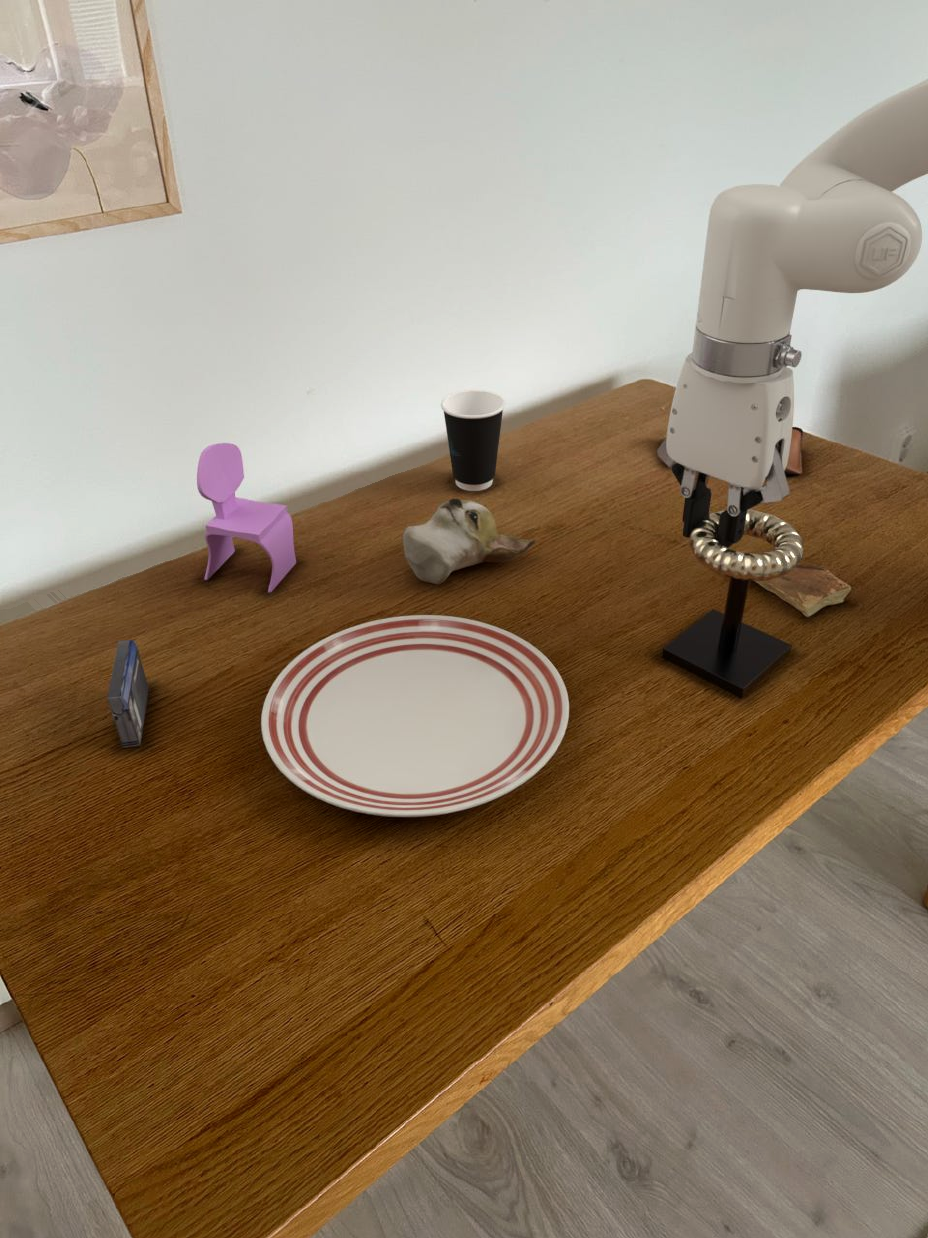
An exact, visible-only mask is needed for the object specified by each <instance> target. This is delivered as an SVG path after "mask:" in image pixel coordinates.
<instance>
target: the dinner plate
mask: <svg viewBox="0 0 928 1238" xmlns="http://www.w3.org/2000/svg"><path fill="white" fill-rule="evenodd" d="M569 718H570V702H569V695H568V691H567V687H566V685H565V682H564V680H563V678H562V675H561V674H560V673H559V671H558V669H557V668H556V667H555V665H554V664H553V663H552V661H550V659H548V657H547V656H546V655H545V654H544V653H543V652H542V651H540V650H539V649H537V648H536V646H534V645H532V644H531V643H530V642H528V641H526V640H525V639H523V638H521V636H518V635H516V634H514V633H512V632H510V631H507V630H505V629H503V628H501V627H497V626H495V625H491V624H489V623H486V622H482V621H478V620H474V619H469V618H464V617H458V616H450V615H437V614H415V615H414V614H413V615H402V616H394V617H393V616H392V617H387V618H381V619H377V620H371V621H368V622H363V623H361V624H357V625H354V626H352V627H349V628H346V629H342V630H340V631H338V632H336V633H333V634H331V635H329V636H327V637H324V638H323V639H321V640H319V641H318V642H316V643H314V644H312V645H311V646H309V647H308V648H307V649H305V650H303V651H302V652H301V653H299V654H298V655H297V656H296V657H295V658H293V660H291V661H290V662H289V663H288V664H287V665H286V667H284V668H283V670H281V672H280V673H279V674H278V675H277V677H276V678H275V680H274V681H273V683H272V685H271V686H270V688H269V690H268V693H267V694H266V697H265V699H264V702H263V706H262V710H261V717H260V728H261V735H262V740H263V743H264V746H265V749H266V752H267V753H268V756H269V757H270V758H271V760H272V762H273V764H274V765H275V766H276V768H277V769H278V770H279V772H281V773H282V775H283V776H284V777H285V778H286V779H288V780H289V781H290V782H291V783H292V784H293V785H295V786H296V787H298V788H299V789H301V791H304V792H305V793H307V795H310V796H312V797H314V798H316V799H318V800H320V801H322V802H325V803H327V804H330V805H332V806H335V807H338V808H341V809H344V810H347V811H348V810H349V811H351V812H356V813H361V814H366V815H370V816H371V815H372V816H379V817H390V818H423V817H433V816H442V815H447V814H451V813H458V812H462V811H464V810H468V809H472V808H475V807H478V806H482V805H485V804H487V803H489V802H492V801H494V800H496V799H498V798H501V797H503V796H505V795H508V794H509V793H510V792H512V791H514V790H515V789H517V788H518V787H520V786H522V785H523V784H525V783H526V782H528V781H529V780H530V779H531V778H533V777H534V776H535V775H536V774H537V773H538V772H539V771H541V769H543V767H544V766H546V764H547V763H548V762H549V760H550V759H552V757H553V756H554V755H555V753H556V752H557V751H558V748H559V746H560V745H561V743H562V741H563V739H564V737H565V733H566V730H567V727H568V724H569Z"/></svg>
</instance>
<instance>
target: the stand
mask: <svg viewBox="0 0 928 1238" xmlns="http://www.w3.org/2000/svg"><path fill="white" fill-rule="evenodd" d="M750 582H751V581H746V580H737V579H733V578H730V577H729V581H728V587H727V593H726V600H725V605H724V610H723V612H721V611H720V610H717V609H714V608H713V609H711V610H710V611H709V612H708V613H706V614H705V615H704V616H702V617H701V618H700V619H698V620H697V621H696V622H694V623H693V624H692V625H690V627H688V628H687V629H686V630H685V631H683V632H682V633H680V635H678V636H677V637H675V638H674V639H673V640H672V641H670V642H669V643H668V644H666V645H665V646H664V647H663V648H662V653H661V658H662V659H664V660H666V661H668V662H670V663H671V664H674V665H676V666H678V667H680V668H682V669H683V670H685V671H687V672H690V673H691V674H693V675H695V676H697V677H699V678H701V679H704V680H705V681H707V682H709V683H710V684H713V685H714V686H717V687H719V688H720V689H722V690H724V691H726V692H728V693H730V694H732V695H734V696H736V697H738V698H740V699H743V698H744V697H745V696H746V695H747V694H748V693H749V692H750V691H751V690H752V689H754V688H755V687H756V686H757V685H758V684H759V683H760V682H762V680H764V679H765V678H766V677H767V676H768V675H769V674H770V673H771V672H772V671H773V670H775V669H776V668H777V667H778V666H779V665H780V664H782V663H783V661H784V660H786V659H787V658H788V657H789V656H790V655H791V651H792V648H793V647H792V646H793V645H792V644H790V643H788V642H786V641H783V640H782V639H779V638H777V637H775V636H773V635H771V634H769V633H766V632H764V631H762V630H760V629H758V628H755V627H754V626H752V625H749V624H747V623H745V622H743V618H744V614H745V608H746V603H747V599H748V592H749V589H750Z"/></svg>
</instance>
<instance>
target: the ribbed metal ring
mask: <svg viewBox="0 0 928 1238" xmlns="http://www.w3.org/2000/svg"><path fill="white" fill-rule="evenodd" d="M725 510H726V509H724V510H719V511H715V512H710V513H709V514H708V515H707V516H705V517H704V518H703V519H701V520H700V521H698V522H697V523H696V524H695V525H694V526H693V528H692V532H691V535H690V537H689V538H688V539H689V540H688V545H689V549H690V550H691V552H692V554H693V555H694V557H695V559H696V560H697V561H698V563H699V564H701V565H703V566H704V567H705V568H707V569H709V570H710V571H711V572H713V573H714V574H717V575H719V576H724V577H727V578H729V579H730V578H733V579H737V580H746V581H750V582H752V581H753V582H755V581H766V580H770V579H774V578H778V577H782V576H785V575H786V574H788V573H789V572H790V571H791V570H793V569H794V568H795V567H796V566H797V565H800V564H801V562H802V560H803V555H804V540H803V538H802V536H800V534H799V533H798V532H797V530H796V529H795V528H794V526H793V525H792V524H790V523H789V522H787V521H785V520H783V519H782V518H779V517H777V516H776V515H774V514H771V513H766V512H763V511H759V510H755V509H748V510H747V516H746V521H745V527H744V533H743V536H749V537H753V538H756V539H760V540H763V541H765V542H767V543H768V544H770V545H772V547H773V548H774V549H773V550H771V551H767V552H763V553H751V552H750V553H749V552H748V553H747V552H742V551H738V550H734V549H731V548H726V547H725V546H723V545H721V544H720V543H719V542H718V541H717V532H718V526H719V519H720V515H721V513H722V512H724V511H725Z"/></svg>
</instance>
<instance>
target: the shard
mask: <svg viewBox="0 0 928 1238" xmlns="http://www.w3.org/2000/svg"><path fill="white" fill-rule="evenodd" d="M754 582H755V583H756V584H758V585H759V586H761V587H763V588H764V589H765V590H767V591H768V592H771V593H772V594H775V595H776V596H777V597H779V599H781V600H782V601H784V602H786V603H788V604H790V605H791V606H792V607H794V608H795V609H796V610H798V611H799V612H801V613H802V615H803V616H804V617H806V618H809V617H811V616H813V615H814V614H816V613H817V612H819V611H820V610H821V609H823V608H825V607H826V606H833V605H837V604H842V603H844V602H845V598H847V595H849V593H850V592H851V590H852V586H851V585H849V584H848V583H847V582H844V581H843V580H841V579H839V578H838V577H837V576H836V575H834V574H833V573H832V572H830V570H829V568H825V567H821V566H820V567H819V566H814V565H813V566H812V565H801V564H798V565H797V566H796V567H795V568H794V569H793V570H791V571H790V572H789V573H788V574H786V575H785V576H782V577H778V578H774V579H770V580H766V581H754Z"/></svg>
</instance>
